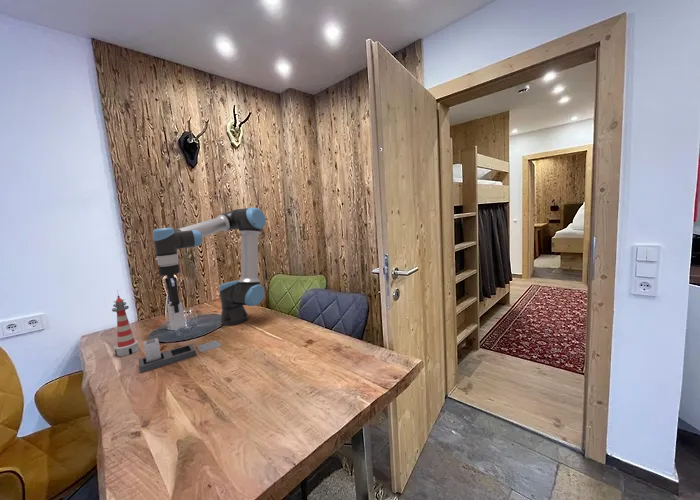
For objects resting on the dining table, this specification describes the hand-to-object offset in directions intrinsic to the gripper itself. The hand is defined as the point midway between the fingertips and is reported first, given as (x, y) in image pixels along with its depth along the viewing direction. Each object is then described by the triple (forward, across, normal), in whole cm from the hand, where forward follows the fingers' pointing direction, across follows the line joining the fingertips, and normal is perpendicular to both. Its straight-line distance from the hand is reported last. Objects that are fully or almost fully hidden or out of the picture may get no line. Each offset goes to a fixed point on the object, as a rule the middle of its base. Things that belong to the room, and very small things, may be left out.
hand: (176, 317), depth 125 cm
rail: (+18, 0, -5) cm, 18 cm away
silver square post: (+17, 0, -10) cm, 20 cm away
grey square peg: (+4, 0, 0) cm, 4 cm away
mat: (+18, -2, +11) cm, 21 cm away
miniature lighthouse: (+18, -26, -19) cm, 37 cm away
